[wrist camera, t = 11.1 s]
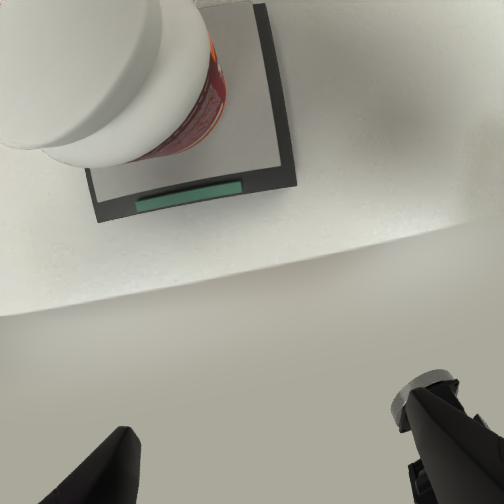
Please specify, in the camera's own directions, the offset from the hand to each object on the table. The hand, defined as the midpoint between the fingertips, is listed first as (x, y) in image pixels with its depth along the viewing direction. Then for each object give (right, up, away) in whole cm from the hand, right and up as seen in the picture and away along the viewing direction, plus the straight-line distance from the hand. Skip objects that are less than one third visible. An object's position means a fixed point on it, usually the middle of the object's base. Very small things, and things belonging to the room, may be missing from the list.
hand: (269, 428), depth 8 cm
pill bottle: (-5, +13, +6) cm, 15 cm away
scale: (-5, +14, +9) cm, 17 cm away
